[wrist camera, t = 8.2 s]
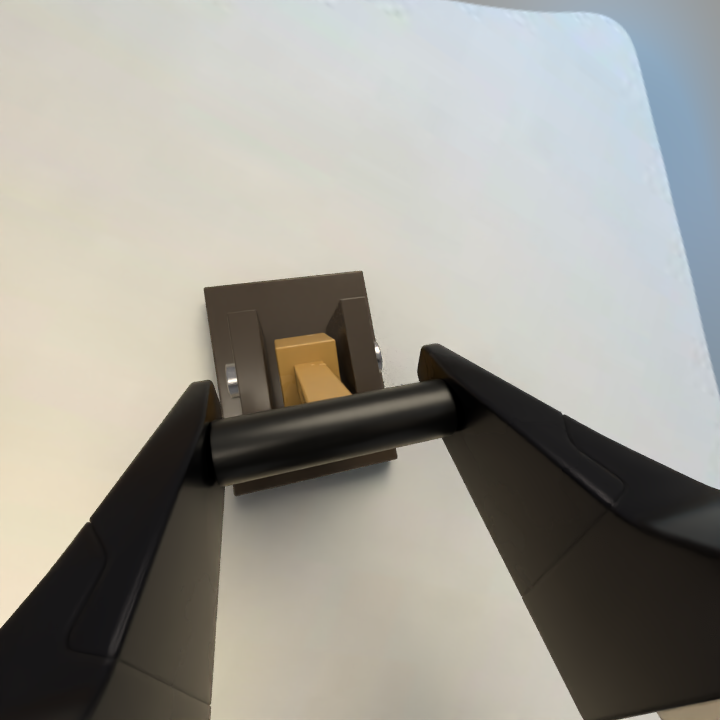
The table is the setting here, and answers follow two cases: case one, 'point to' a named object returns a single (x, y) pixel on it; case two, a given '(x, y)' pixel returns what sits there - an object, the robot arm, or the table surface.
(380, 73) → the table surface
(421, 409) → the lever
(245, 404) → the bracket
